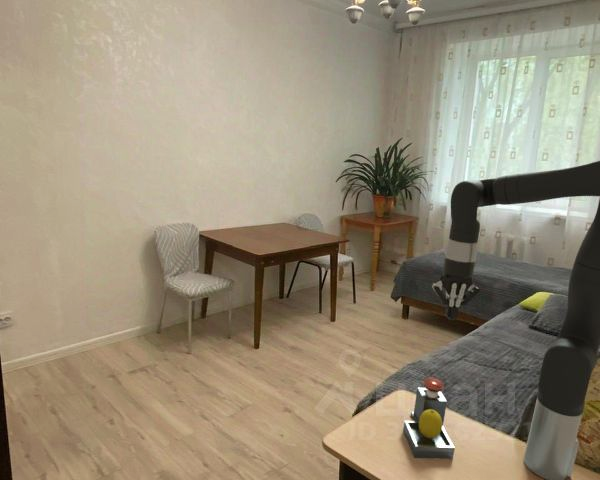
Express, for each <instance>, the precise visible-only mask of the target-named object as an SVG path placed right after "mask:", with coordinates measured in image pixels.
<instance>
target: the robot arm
mask: <svg viewBox="0 0 600 480" xmlns="http://www.w3.org/2000/svg"><path fill="white" fill-rule="evenodd" d="M571 197H573V198H574V197H600V159H599V160H596V161H592V162H590V163H585V164H581V165H577V166H571V167H567V168H559V169H557V168H556V169H550V170H548V169H546V170H536V171H528V172H522V173H521V172H520V173H514V174H508V175H507V174H506V175H502V176H499V177H496V178H487V179H486V178H484V179H475V180H462V181H460V182H457V184H456V185H455V186H454V187H453V189H452V193H451V195H450V218H451V224H450V229H449V236H448V241H447V244H446V248H445V255H444V262H443V267H442V268H443V269H442V275H441V277H440V278H439V281H437V282H436V283H435V282H433V283H431V284H430V286H431V289H432V290H433V291H434V293H435V295H436V296H437V298H438V299H439V300H440V302H441V303H442V304H443V305H446V306H445V311H444V315H445V316H446V318H447V319H448V320H450V321H451V320H452V321H455V319H457V317H458V315H459V313H458V312H459V308H460V306H466V305H467V304H468V303H470V302H471V301H472V300H473V299H474V298H475V297H476V295H478V294H479V293H480V291H481V289H480V288H479V287H477V286H476V285H475V284H474V279H473V276H474V272H475V265H476V259H477V256H478V255H477V253H478V243H479V242H478V241H479V235H480V229H481V223H480V221H479V220H478V209H479V208H482V207H489V206H496V205H501V206H502V205H503V206H505V205H507V206H509V205H518V204H529V203H536V202H542V201H549V200H550V201H551V200H555V199H564V198H571ZM567 288H568V291H567V309H566V312H565V313H566V315H565V317H564V319H563V320H564V321H563V322H562V325H561V328H560V330H559V332H558V334H557V336H556V338H555V340H554V342H553V343H552V344H551V345H550V346H549V347H548V348H547V350H546V352H545V354H544V356H543V360H542V364H541V368H540V369H541V370H540V373H539V379H538V382H537V383H538V384H537V390H538V392H537V396H536V401H535V406H534V412H533V415H532V419H531V425H530V428H529V433H528V437H527V442H526V446H525V450H524V455H523V462H524V464H525V466H526V468H528V469H529V470H530V471H531V472H532V473H534V474H535V475H537V476H538V477H540V478H543V479H545V480H565V479H567V477H568V478H569V477H572V473H573V471H574V470H573V469H574V464H575V461H576V457H577V453H578V450H579V445H580V442H579V441H580V440H578V439H577V436H578V433H579V429H580V425H581V424H580V423H581V421H582V416H583V414H584V413H583V412H584V409H585V405H586V404H585V403H586V402H585V401H586V397H587V396H586V395H587V392H588V387H589V384H590V379H591V377H592V374H593V371H594V370H595V368H596V365H597V361H598V360H597V359H598V353H599V349H600V348H599V347H600V198H599V200H598V205H597V209H596V213H595V215H594V218H593V220H592V223H591V224H590V227H589V228H588V230H587V232H586V234H585V235H584V238H583V240H582V242H581V243H580V246H579V248H578V251H577V253H576V257H575V259H574V262H573V265H572V269H571V272H570V277H569V282H568V287H567ZM443 289H444V290H445V295H444V293H443V292H442V290H443Z"/></svg>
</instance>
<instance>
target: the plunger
mask: <svg viewBox="0 0 600 480" xmlns="http://www.w3.org/2000/svg"><path fill="white" fill-rule="evenodd" d="M423 388H426V389H427V391H426V396H427V398H437V397H438V392H440V391H441V392H442V391H443V390H444V382H443V381H442V380H440V379H438V378H436V377H431V376H430V377H429V376H428V377H426V378H423Z"/></svg>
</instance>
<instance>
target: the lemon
mask: <svg viewBox="0 0 600 480" xmlns="http://www.w3.org/2000/svg"><path fill="white" fill-rule="evenodd" d="M419 429H420V431H421V433H422V434H423V435H424V436H425V437H427V438H435V437H437V436H438V435H439V434H440V432H441V429H442V420H441V417H440V415H439V414H438V413H437V412H436V411H434V410H431V409H429V410H425V411H424V412H423V413H422V414H421V416H420V419H419Z"/></svg>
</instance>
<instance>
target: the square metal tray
mask: <svg viewBox="0 0 600 480" xmlns="http://www.w3.org/2000/svg"><path fill="white" fill-rule="evenodd" d="M443 426H444V425H443ZM443 426H442V429H441V432H440V434H439V435H438V436H437V437H435V438H427V437H425V436H424V435H423V434H422V433H421V431H420V429H419V421H414V420H404V421H403V430H402V432H403V434H404V438H405V439H406V442H407V444H408V447H409V449H410V451H411V454H412V456H413V458H414V459H435V458H439V459H440V460H441V459H442V460H443V459H444V460H453V459H454V454H455V448H456V447H455V446H454V444H453V442H452V440H451V439H450V437H449V435H448V434H447V432H446V431H447V430H446V429H445V430H444V428H445V427H444V428H443Z"/></svg>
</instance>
